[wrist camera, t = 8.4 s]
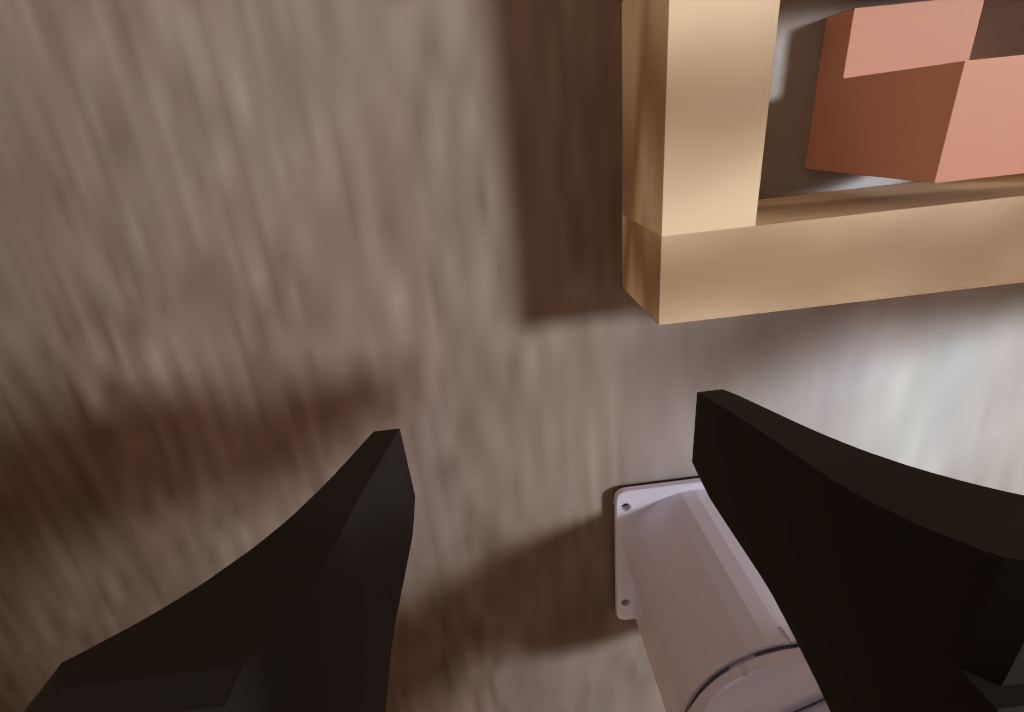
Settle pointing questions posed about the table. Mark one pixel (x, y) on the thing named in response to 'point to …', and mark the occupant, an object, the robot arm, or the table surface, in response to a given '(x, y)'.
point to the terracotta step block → (915, 96)
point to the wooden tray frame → (773, 221)
